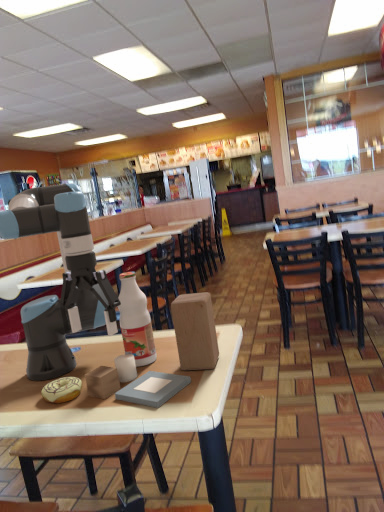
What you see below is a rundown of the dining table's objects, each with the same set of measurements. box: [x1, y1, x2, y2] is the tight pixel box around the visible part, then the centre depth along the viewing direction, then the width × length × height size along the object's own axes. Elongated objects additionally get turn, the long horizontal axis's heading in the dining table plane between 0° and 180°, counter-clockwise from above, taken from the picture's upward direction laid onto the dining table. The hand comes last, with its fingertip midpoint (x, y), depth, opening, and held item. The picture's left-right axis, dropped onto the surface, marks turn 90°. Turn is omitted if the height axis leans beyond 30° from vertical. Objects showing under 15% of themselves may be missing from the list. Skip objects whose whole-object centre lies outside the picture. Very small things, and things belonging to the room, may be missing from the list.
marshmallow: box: [113, 353, 138, 383], centre depth 119 cm, size 6×6×6 cm
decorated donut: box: [40, 376, 83, 404], centre depth 114 cm, size 10×11×4 cm
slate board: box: [114, 370, 192, 409], centre depth 109 cm, size 14×14×2 cm
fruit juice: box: [116, 271, 158, 368], centre depth 129 cm, size 9×9×28 cm
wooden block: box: [170, 291, 220, 371], centre depth 120 cm, size 10×10×20 cm
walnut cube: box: [84, 365, 122, 400], centre depth 112 cm, size 6×6×6 cm
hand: (94, 332), depth 110 cm, fingers open, 13 cm apart
